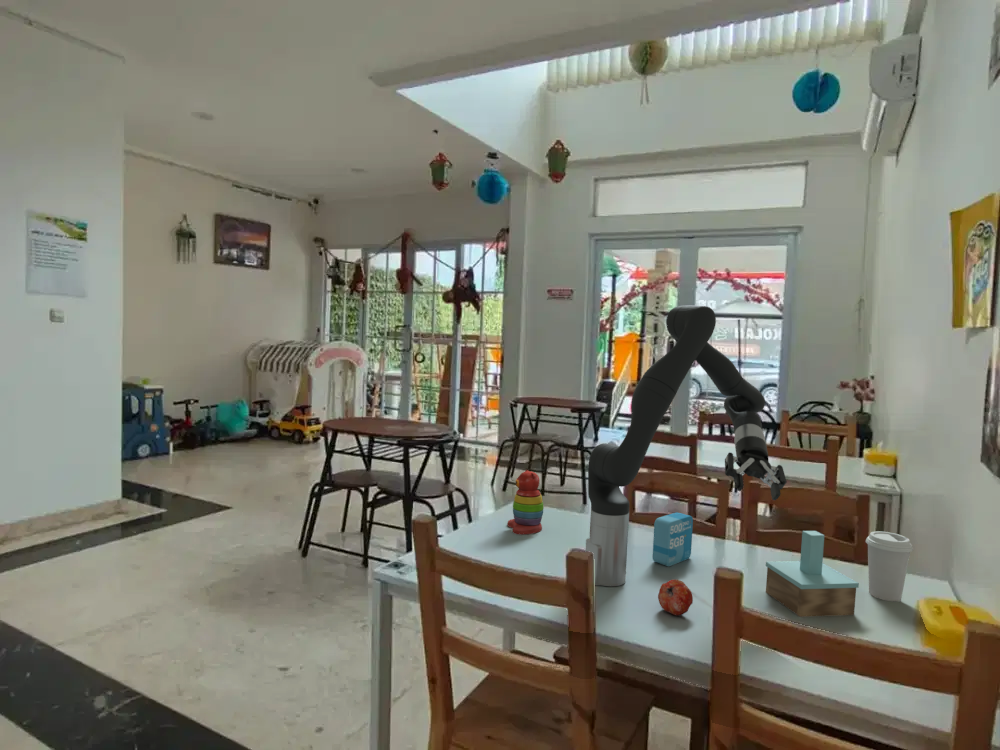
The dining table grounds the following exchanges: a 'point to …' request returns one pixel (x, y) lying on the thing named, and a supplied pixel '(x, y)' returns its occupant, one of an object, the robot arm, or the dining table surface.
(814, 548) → the lid
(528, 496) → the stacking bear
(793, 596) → the box
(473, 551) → the dining table surface
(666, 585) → the pomegranate
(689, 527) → the data package
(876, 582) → the coffee cup
